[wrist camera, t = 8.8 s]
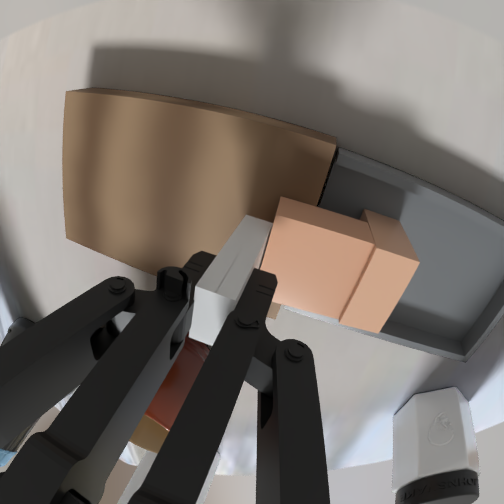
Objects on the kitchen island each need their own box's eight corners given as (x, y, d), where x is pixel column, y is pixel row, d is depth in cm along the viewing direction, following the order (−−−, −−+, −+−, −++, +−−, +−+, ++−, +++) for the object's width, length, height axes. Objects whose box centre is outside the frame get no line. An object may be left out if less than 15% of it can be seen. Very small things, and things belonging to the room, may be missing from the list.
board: (87, 223, 25) (66, 238, 23) (93, 87, 19) (65, 91, 17) (282, 293, 24) (275, 319, 21) (336, 137, 17) (336, 145, 15)
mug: (169, 298, 27) (106, 384, 18) (242, 358, 28) (205, 451, 20) (123, 347, 33) (75, 412, 24) (181, 392, 34) (145, 461, 26)
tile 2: (259, 271, 19) (252, 296, 17) (280, 196, 17) (275, 214, 15) (336, 292, 19) (338, 319, 17) (367, 222, 16) (375, 244, 14)
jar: (475, 379, 23) (495, 484, 13) (462, 420, 26) (471, 508, 16) (392, 395, 26) (391, 506, 16) (392, 432, 29) (387, 523, 19)
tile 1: (338, 323, 17) (378, 333, 16) (376, 247, 14) (420, 262, 14) (336, 273, 21) (369, 283, 21) (363, 208, 18) (399, 221, 18)
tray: (288, 290, 23) (283, 308, 21) (338, 147, 18) (338, 153, 16) (460, 344, 22) (465, 362, 20) (529, 236, 16) (543, 250, 14)
